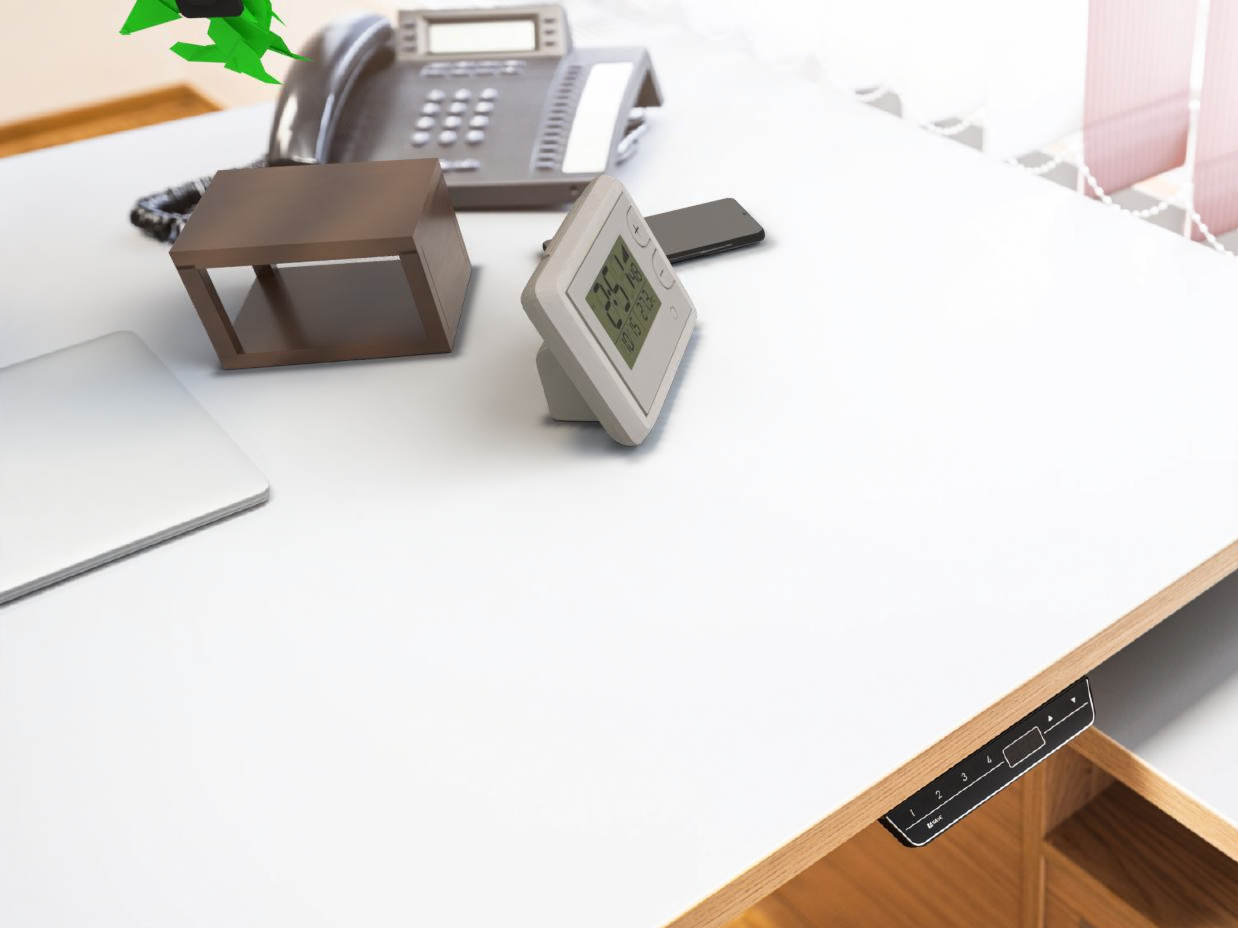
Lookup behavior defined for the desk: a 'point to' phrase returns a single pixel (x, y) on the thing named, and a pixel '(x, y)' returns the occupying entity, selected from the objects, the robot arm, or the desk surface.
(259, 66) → the figurine
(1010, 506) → the desk surface
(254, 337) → the stand
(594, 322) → the digital clock
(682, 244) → the smartphone
